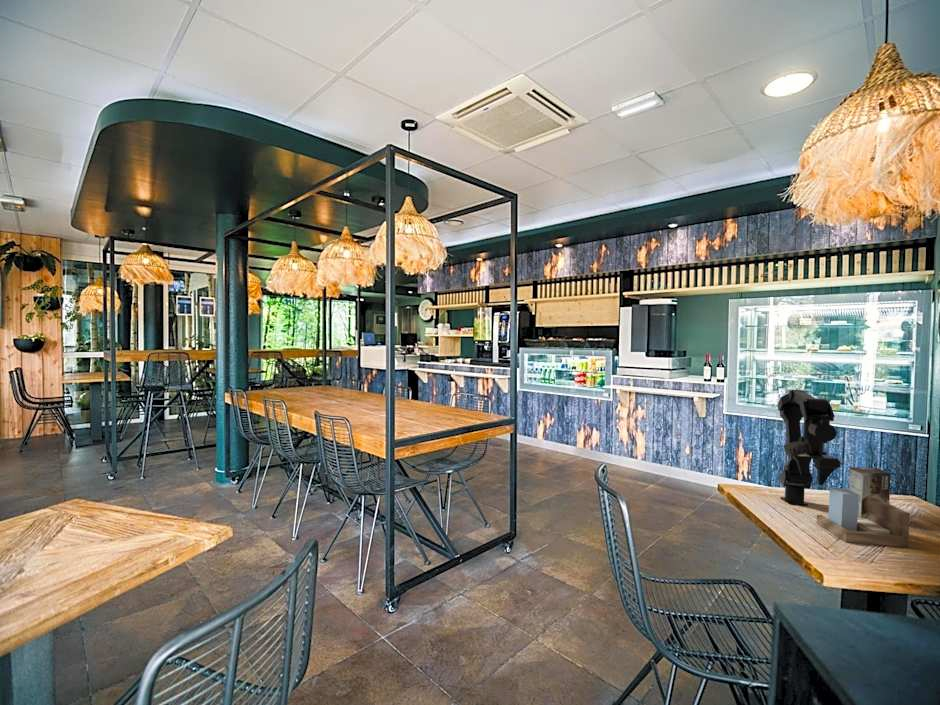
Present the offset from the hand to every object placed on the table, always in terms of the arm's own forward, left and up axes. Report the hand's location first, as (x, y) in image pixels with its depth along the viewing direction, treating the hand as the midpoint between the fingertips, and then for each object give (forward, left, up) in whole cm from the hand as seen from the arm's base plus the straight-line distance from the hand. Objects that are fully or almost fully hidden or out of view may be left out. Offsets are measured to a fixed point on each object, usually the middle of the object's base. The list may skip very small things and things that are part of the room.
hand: (811, 480), depth 152 cm
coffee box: (-7, +23, -13) cm, 27 cm away
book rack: (+11, +8, -13) cm, 19 cm away
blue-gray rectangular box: (+9, +4, -12) cm, 16 cm away
